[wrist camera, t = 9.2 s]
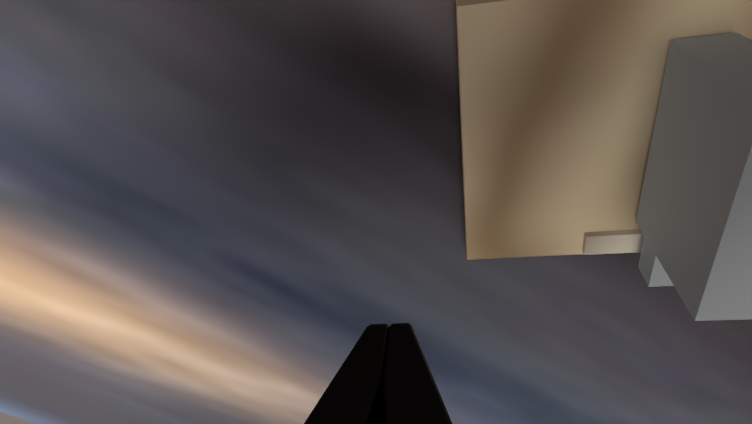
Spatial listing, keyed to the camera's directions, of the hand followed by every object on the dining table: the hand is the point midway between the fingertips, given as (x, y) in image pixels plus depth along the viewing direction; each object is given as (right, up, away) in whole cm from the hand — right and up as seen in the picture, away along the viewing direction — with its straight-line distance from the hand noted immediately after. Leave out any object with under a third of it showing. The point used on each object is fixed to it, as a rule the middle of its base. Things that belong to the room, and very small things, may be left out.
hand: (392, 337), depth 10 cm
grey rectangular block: (+14, +5, +9) cm, 17 cm away
